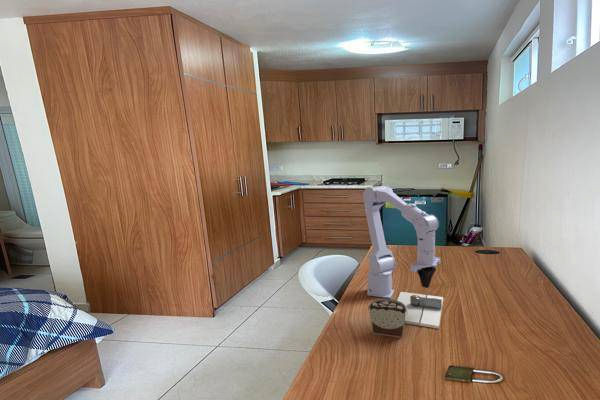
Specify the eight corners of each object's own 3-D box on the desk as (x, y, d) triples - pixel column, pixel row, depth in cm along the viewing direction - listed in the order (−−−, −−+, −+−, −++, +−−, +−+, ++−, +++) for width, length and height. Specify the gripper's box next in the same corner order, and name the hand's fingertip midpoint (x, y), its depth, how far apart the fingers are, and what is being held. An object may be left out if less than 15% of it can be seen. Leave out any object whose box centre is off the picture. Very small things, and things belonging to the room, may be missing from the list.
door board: (389, 320, 125) (389, 311, 124) (400, 294, 146) (400, 286, 146) (438, 328, 118) (439, 319, 118) (443, 299, 140) (443, 291, 139)
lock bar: (409, 305, 132) (410, 297, 132) (410, 301, 136) (410, 293, 135) (441, 309, 128) (441, 300, 128) (441, 305, 132) (441, 296, 131)
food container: (408, 328, 119) (408, 300, 117) (407, 338, 113) (407, 308, 112) (370, 324, 123) (370, 296, 122) (368, 333, 117) (367, 304, 116)
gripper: (422, 256, 119) (422, 295, 121) (448, 248, 127) (447, 284, 129) (405, 251, 124) (405, 289, 127) (431, 244, 133) (430, 279, 135)
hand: (425, 286), depth 128 cm, fingers closed
